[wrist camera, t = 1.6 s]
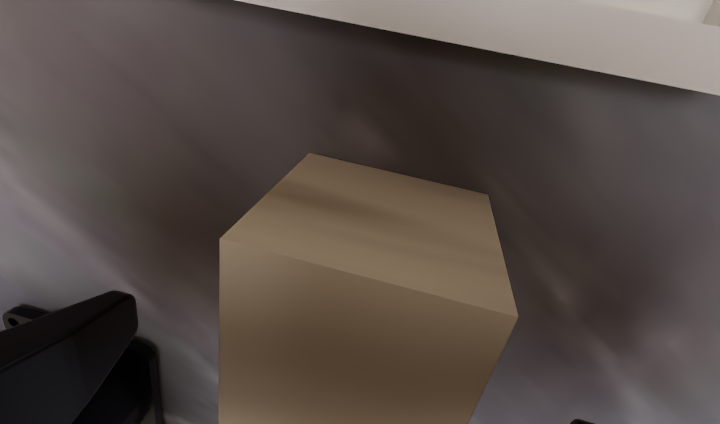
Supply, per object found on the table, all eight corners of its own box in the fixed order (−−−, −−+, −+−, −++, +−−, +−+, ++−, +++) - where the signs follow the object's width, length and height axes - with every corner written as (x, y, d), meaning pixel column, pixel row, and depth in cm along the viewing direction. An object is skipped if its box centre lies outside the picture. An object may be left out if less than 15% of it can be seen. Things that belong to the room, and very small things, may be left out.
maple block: (439, 330, 13) (435, 492, 8) (293, 290, 13) (218, 424, 9) (487, 193, 11) (518, 317, 6) (310, 151, 11) (219, 238, 7)
